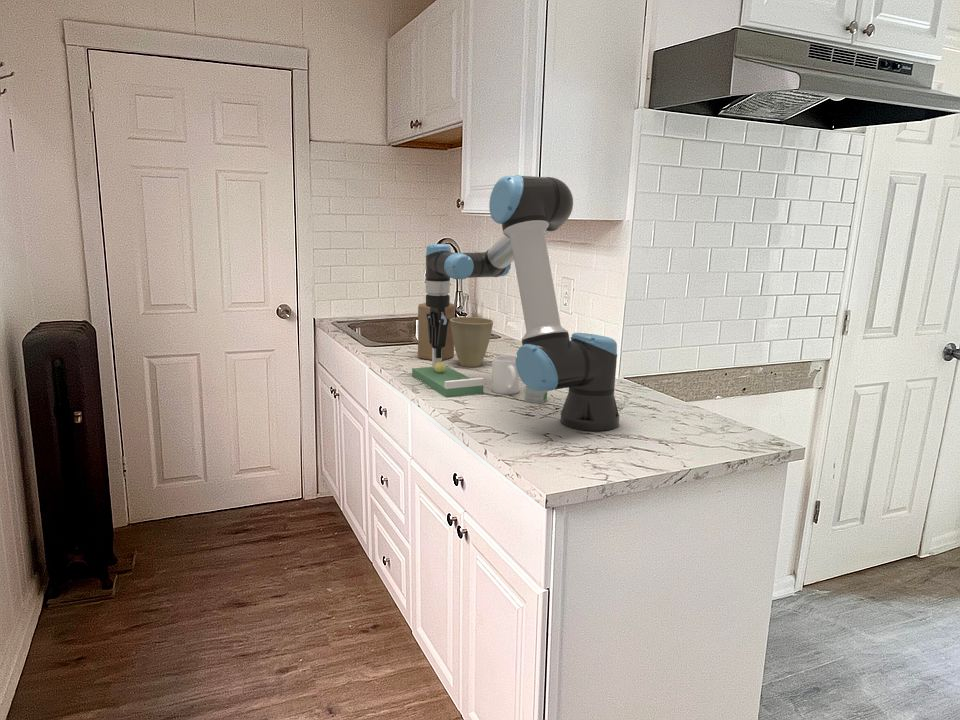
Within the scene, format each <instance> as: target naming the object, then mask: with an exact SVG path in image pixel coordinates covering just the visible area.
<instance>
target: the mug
mask: <svg viewBox="0 0 960 720" xmlns="http://www.w3.org/2000/svg"><path fill="white" fill-rule="evenodd" d="M516 357H517V355H507V354H505V355H504V354H503V355H502V354H501V355H495V356H492V365H491V369H492V370H491V391H492V392H493V393H495V394H497V395H498V394H499V395H505V396H506V395H515V394H517V393H519V392H520V391H519V390H520V377H519V375H518V372H517V368H516Z"/></svg>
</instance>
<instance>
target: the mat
mask: <svg viewBox="0 0 960 720" xmlns="http://www.w3.org/2000/svg"><path fill="white" fill-rule="evenodd" d="M445 367H446V368H445V371H444V372H442V373H438V372H436V371H435V369H434V368H432V366H427V367H426V366H425V367H413V368H412V369H411V376H412V377H413V376H414V377H413V378H415V379H416V378H417V380H418V379H419V380H418V381H420V380H421V381H422V382H421V381H420V382H421V383H423V382H424V383H425V385H426V384H427V385H426V386H427V387H429V386H430V387H429V388H431V389H432V388H433V390H434V391H436V392H437V393H438V394H441V396H444V397H445V398H452V397H462V396H463V397H464V396H471V395H481V394H484V388H485V387H484V386H485V385H484V382H485V381H484V379H485V378H483V377H474V378H470V377H468V376H467V375H465V374H463V373H461V372H459V371H457V370H455V369H454V368H451V367H449V366H447V365H445ZM424 383H423V384H424Z"/></svg>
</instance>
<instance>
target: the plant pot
mask: <svg viewBox="0 0 960 720" xmlns="http://www.w3.org/2000/svg"><path fill="white" fill-rule="evenodd" d="M450 321H451V330H452V337H453V342H454V351H455V352H456V353H455V354H456V357H457V359H458V360H457V361H458V362H459V365H460V366H461V367H466V368H477V367H481V365H482V363H483V361H484V358H485V356H486V353H487V349H488V347H489V344H490V340H491V336H492V331H493V327H494V326H493V325H494V320H492V319H490V318H485V317H475V316H474V317H473V316H461V317H460V316H459V317H457V316H456V317H455V318H452V319H451V320H450Z"/></svg>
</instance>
